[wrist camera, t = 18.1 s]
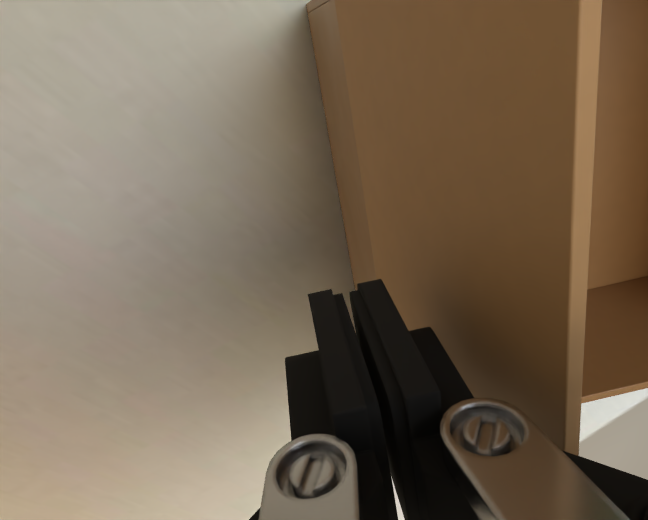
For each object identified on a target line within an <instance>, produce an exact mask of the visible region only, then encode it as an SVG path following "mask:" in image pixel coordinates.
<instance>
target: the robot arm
mask: <svg viewBox="0 0 648 520" xmlns="http://www.w3.org/2000/svg"><path fill="white" fill-rule="evenodd" d="M349 295H350V301H351V307H352V313H353V319H354V325H355V330H356V333H355V330H354V327H353V324H352V321H351V318H350V315H349V312H348V309H347V306H346V303H345V300H344V297H343V294H342V293H341V294H337V295H333V293H332V289H330V290H325V291H320V292H316V293H311V294H308V297H309V302H310V307H311V312H312V317H313V322H314V327H315V332H316V337H317V343H318V348H319V350H318V351H314V352H309V353H304V354H300V355H295V356H290V357H286V358H285V366H286V378H287V390H288V403H289V415H290V427H291V439H292V441H290V442H288V443H287V444H286V445H285V446H283V447H282V448H281V449H280V450H278V451H277V453H276V454H275V455H274V457H273V458H272V459H271V461H270V463H269V466H268V469H267V472H266V477H265V483H264V489H263V496H262V502H261V507H260V508H259V509H258V511H257V512H256V513H255V514H254V515H253V516H252V517H251V518H250V519H249V520H398V516H397V510H396V504H395V498H394V491H393V485H392V479H393V482H394V486H395V489H396V492H397V495H398V499H399V502H400V505H401V508H402V512H403V515H404V518H405V520H648V480H646V479H643V478H641V477H638V476H635V475H632V474H629V473H626V472H623V471H620V470H617V469H615V468H611V467H609V466H606V465H603V464H600V463H597V462H594V461H592V460H589V459H586V458H583V457H580V456H577V455H574V454H571V453H568V452H566V451H563V450H561V449H560V448H559V447H558V446H557V445H556V444H555V443H554V442H553V441H552V440H551V439H550V438H549V437H548V436H547V435H546V434H545V433H544V432H543V431H542V430H541V429H540V428H539V427H538V426H537V425H536V424H535V423H534V422H533V421H532V420H531V419H530V418H529V417H528V416H527V415H526V414H525V413H524V412H523V411H521V410H520V409H519V408H517V407H516V406H514V405H512V404H510V403H507V402H505V401H503V400H498V399H493V398H474V396H473V395H472V393H471V391H470V390H469V388H468V387H467V385H466V383H465V382H464V380H463V378H462V377H461V375H460V373H459V372H458V370H457V369H456V367H455V365H454V364H453V362H452V360H451V359H450V357H449V356H448V354H447V352H446V351H445V349H444V347H443V346H442V344H441V342H440V341H439V339H438V338H437V336H436V334H435V333H434V331H433V330H432V328H431V327H424V328H420V329H415V330H411V331H408V329H407V327H406V325H405V323H404V321H403V319H402V317H401V315H400V313H399V311H398V310H397V308H396V306H395V304H394V302H393V300H392V298H391V296H390V294H389V292H388V291H387V289H386V287H385V285H384V283H383V281H382V279H377V280H372V281H368V282H363V283H358V284H357V290H356V291H351V292H349ZM391 476H392V479H391Z"/></svg>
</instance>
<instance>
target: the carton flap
mask: <svg viewBox="0 0 648 520" xmlns="http://www.w3.org/2000/svg"><path fill="white" fill-rule="evenodd" d="M335 6H336V13H337V20H338V26H339V33H340V40H341V46H342V53H343V60H344V66H345V73H346V80H347V86H348V93H349V100H350V106H351V113H352V120H353V126H354V133H355V140H356V146H357V153H358V160H359V166H360V173H361V180H362V186H363V193H364V200H365V206H366V213H367V220H368V226H369V233H370V240H371V247H372V253H373V260H374V267H375V273H376V280H377V279H382V281H383V283H384V285H385V287H386V289H387V291H388V292H389V294H390V296H391V298H392V300H393V302H394V304H395V306H396V308H397V310H398V311H399V313H400V315H401V317H402V319H403V321H404V323H405V325H406V327H407V329H408V331H411V330H415V329H420V328H424V327H431V328H432V330H433V331H434V333H435V334H436V336H437V338H438V339H439V341H440V342H441V344H442V346H443V347H444V349H445V351H446V352H447V354H448V356H449V357H450V359H451V360H452V362H453V364H454V365H455V367H456V369H457V370H458V372H459V373H460V375H461V377H462V378H463V380H464V382H465V383H466V385H467V387H468V388H469V390H470V391H471V393H472V395H473V396H474V398H493V399H498V400H503V401H505V402H507V403H510V404H512V405H514V406H516V407H517V408H519V409H520V410H521V411H523V412H524V413H525V414H526V415H527V416H528V417H529V418H530V419H531V420H532V421H533V422H534V423H535V424H536V425H537V426H538V427H539V428H540V429H541V430H542V431H543V432H544V433H545V434H546V435H547V436H548V437H549V438H550V439H551V440H552V441H553V442H554V443H555V444H556V445H557V446H558V447H559V448H560V449H561V450H563V451H566V452H568V453H571V454H574V455H577V456H578V454H579V435H580V416H581V396H582V377H583V358H584V339H585V320H586V301H587V282H588V263H589V244H590V225H591V206H592V187H593V167H594V148H595V129H596V110H597V91H598V72H599V53H600V34H601V15H602V0H335Z"/></svg>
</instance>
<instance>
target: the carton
mask: <svg viewBox="0 0 648 520" xmlns="http://www.w3.org/2000/svg"><path fill="white" fill-rule="evenodd" d="M306 7H307V13H308V19H309V25H310V31H311V36H312V42H313V48H314V54H315V60H316V66H317V71H318V77H319V83H320V89H321V95H322V100H323V106H324V112H325V118H326V124H327V130H328V135H329V141H330V147H331V153H332V159H333V164H334V170H335V176H336V182H337V188H338V193H339V199H340V205H341V211H342V217H343V223H344V228H345V234H346V240H347V246H348V252H349V257H350V263H351V269H352V275H353V281H354V286H355V291H356V290H357V284H358V283H363V282H368V281H372V280H376V273H375V267H374V260H373V253H372V247H371V240H370V233H369V226H368V220H367V213H366V206H365V200H364V193H363V186H362V180H361V173H360V166H359V160H358V153H357V146H356V140H355V133H354V126H353V120H352V113H351V106H350V100H349V93H348V86H347V80H346V73H345V66H344V60H343V53H342V46H341V40H340V33H339V26H338V20H337V13H336V6H335V0H311V1H310V2H309V3H307V4H306ZM645 388H648V0H602V15H601V34H600V53H599V72H598V91H597V110H596V129H595V148H594V167H593V187H592V206H591V225H590V244H589V263H588V282H587V301H586V320H585V339H584V358H583V377H582V396H581V403H585V402H589V401H594V400H598V399H602V398H606V397H611V396H615V395H619V394H623V393H628V392H632V391H636V390H641V389H645Z"/></svg>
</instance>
